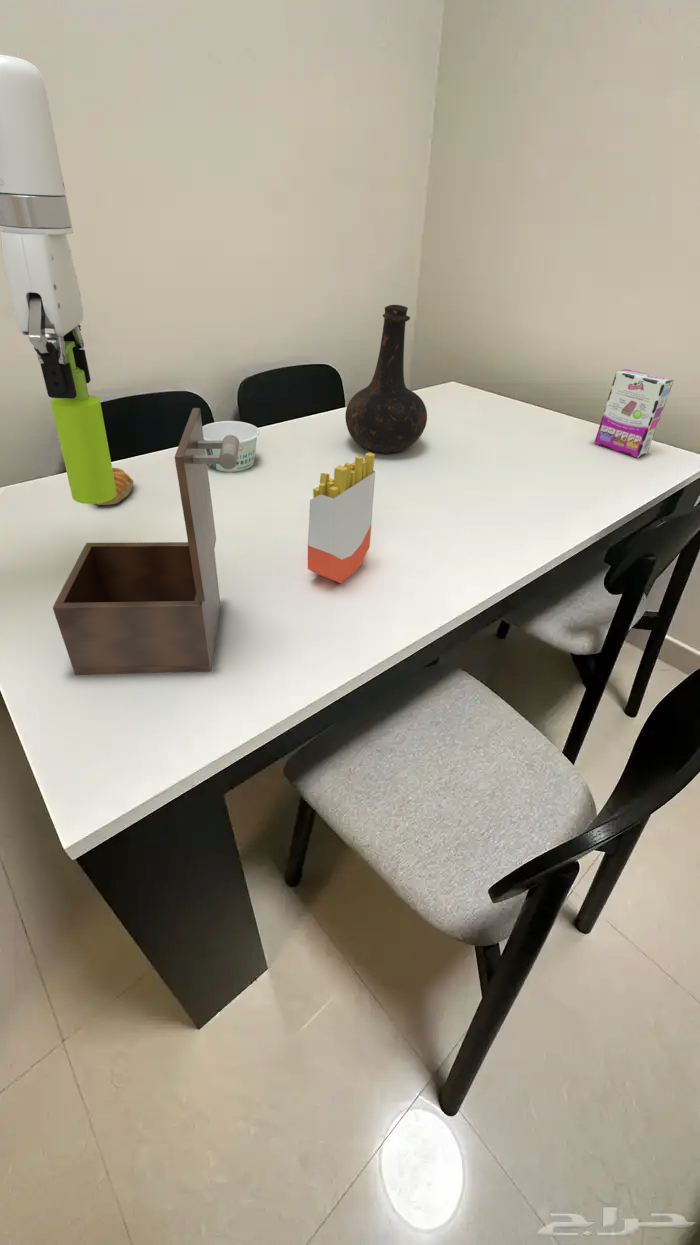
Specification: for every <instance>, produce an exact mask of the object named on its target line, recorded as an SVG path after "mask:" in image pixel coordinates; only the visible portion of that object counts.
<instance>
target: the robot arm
mask: <svg viewBox="0 0 700 1245" xmlns="http://www.w3.org/2000/svg"><path fill="white" fill-rule="evenodd" d="M53 124H54V123H53V119H52V114H51V108H50V103H49V98H48V92H47V88H46V83H45V80H44V77H43V75H42V73H41V72H40V70H39V68H38V67H36V66H35V64H33V63H31V62H30V61H29V60H26V59H23V58H19V57H17V56H13V55H6V54H0V243H1V251H2V257H3V265H4V269H5V275H6V276H5V277H6V281H7V286H8V290H9V295H10V300H11V304H12V309H13V313H14V319H15V322H16V327H17V329H18V331H19V333H21V334H22V335H23V336H28V340H29V342H30V343H31V345H32V346H33V349H34V351H35V352H36V354H37V355H36V356H37V361H38V363H39V364H40V368H41V372H42V376H43V380H44V385H45V389H46V393H47V396H48V397H49V398H51V399H53V398H70V399H74V398H75V397H76V396H77V393H76V389H75V384H74V379H73V375H72V370H71V365H70V363H66V354H65V345H64V341H74V342H75V347H73V348H72V349H73V354H74V359H75V364H76V367H78V368H79V369H81V370H83V371H84V373H85V379H86V384H89V383H90V382H91V375H90V370H89V364H88V360H87V354H86V350H85V342H84V339H83V335H82V332H81V331H82V328H81V327H82V326H81V325H80V324H82V322H83V320H84V308H83V302H82V295H81V290H80V287H79V286H80V285H79V282H78V281H79V280H78V276H77V272H76V268H75V263H74V259H73V255H72V252H71V251H72V250H71V247H70V244H69V240H68V239H69V238H68V236H67V235H70V234H73V233H74V230H73V225H72V219H71V214H70V209H69V203H68V197H67V194H66V193H67V192H66V186H65V183H64V182H65V181H64V178H63V177H64V176H63V171H62V167H61V161H60V157H59V156H60V155H59V150H58V146H57V141H56V134H55V129H54V125H53ZM47 329H49V330H51V329H52V330H53V332H54V333H52V332H51V333H50V332H46V330H47ZM51 341H54V342H56V346H57V350H56V348H55V346H54V345H53V343H54V342H51Z"/></svg>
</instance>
